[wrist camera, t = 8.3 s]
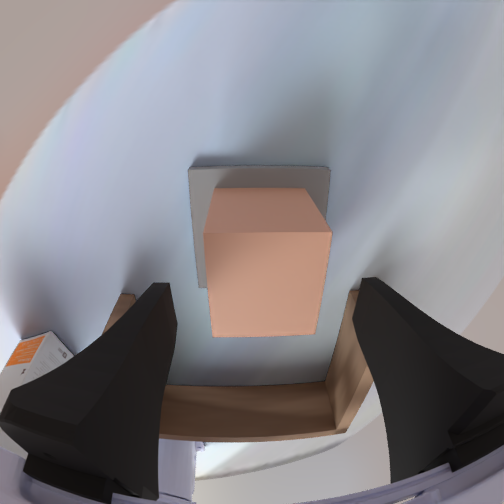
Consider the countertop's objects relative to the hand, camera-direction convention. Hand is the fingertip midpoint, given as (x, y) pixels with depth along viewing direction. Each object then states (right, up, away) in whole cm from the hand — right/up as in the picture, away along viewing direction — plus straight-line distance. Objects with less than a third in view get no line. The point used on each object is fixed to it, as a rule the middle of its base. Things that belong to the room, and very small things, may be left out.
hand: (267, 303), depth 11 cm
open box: (-1, -5, +10) cm, 12 cm away
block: (0, +3, +5) cm, 6 cm away
